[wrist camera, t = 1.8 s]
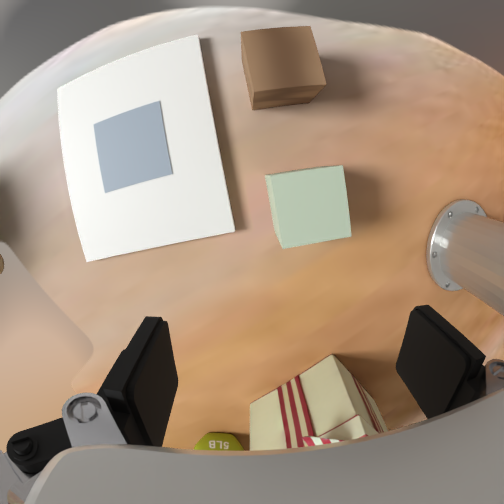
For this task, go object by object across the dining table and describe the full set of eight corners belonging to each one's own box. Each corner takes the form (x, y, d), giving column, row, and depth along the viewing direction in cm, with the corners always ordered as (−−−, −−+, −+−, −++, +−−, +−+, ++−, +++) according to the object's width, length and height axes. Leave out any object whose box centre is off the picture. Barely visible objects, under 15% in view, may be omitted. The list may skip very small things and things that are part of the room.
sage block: (320, 166, 28) (342, 165, 21) (329, 221, 30) (351, 236, 23) (264, 175, 28) (270, 175, 21) (274, 231, 30) (282, 248, 23)
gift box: (313, 334, 33) (354, 444, 17) (381, 394, 37) (422, 474, 21) (221, 402, 37) (212, 504, 20) (300, 446, 40) (314, 526, 24)
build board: (199, 38, 24) (197, 33, 22) (235, 229, 30) (234, 231, 28) (62, 90, 24) (56, 88, 23) (91, 259, 30) (86, 262, 29)
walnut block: (297, 54, 24) (310, 26, 18) (308, 103, 26) (326, 84, 19) (242, 60, 25) (240, 32, 18) (252, 110, 26) (254, 91, 20)
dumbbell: (241, 473, 43) (241, 501, 36) (201, 470, 43) (198, 498, 36) (245, 430, 39) (245, 465, 32) (196, 427, 38) (190, 461, 32)
